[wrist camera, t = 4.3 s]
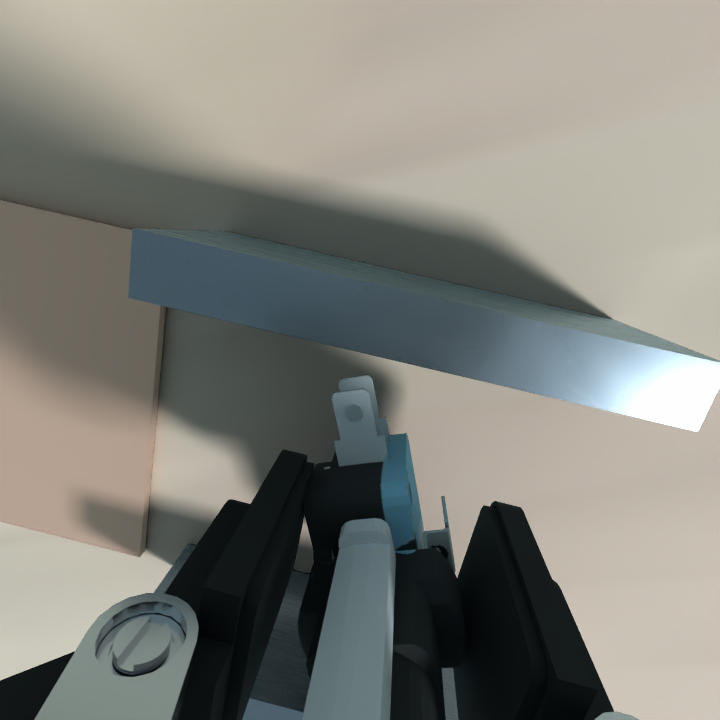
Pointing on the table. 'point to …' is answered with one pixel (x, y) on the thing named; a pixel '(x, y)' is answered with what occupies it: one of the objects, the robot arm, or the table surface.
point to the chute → (409, 361)
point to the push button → (375, 578)
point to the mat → (75, 380)
